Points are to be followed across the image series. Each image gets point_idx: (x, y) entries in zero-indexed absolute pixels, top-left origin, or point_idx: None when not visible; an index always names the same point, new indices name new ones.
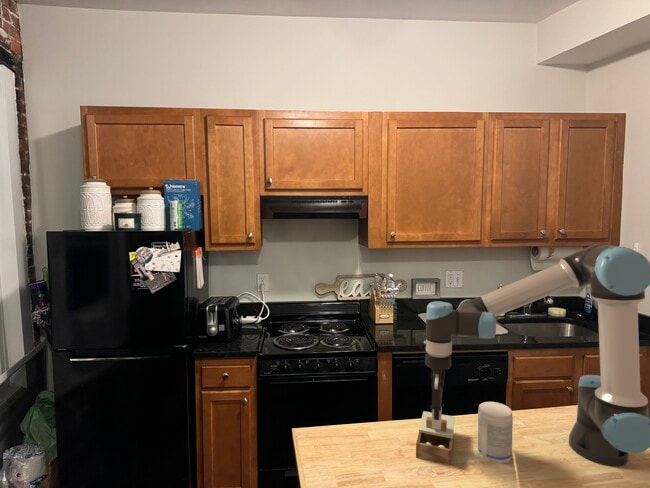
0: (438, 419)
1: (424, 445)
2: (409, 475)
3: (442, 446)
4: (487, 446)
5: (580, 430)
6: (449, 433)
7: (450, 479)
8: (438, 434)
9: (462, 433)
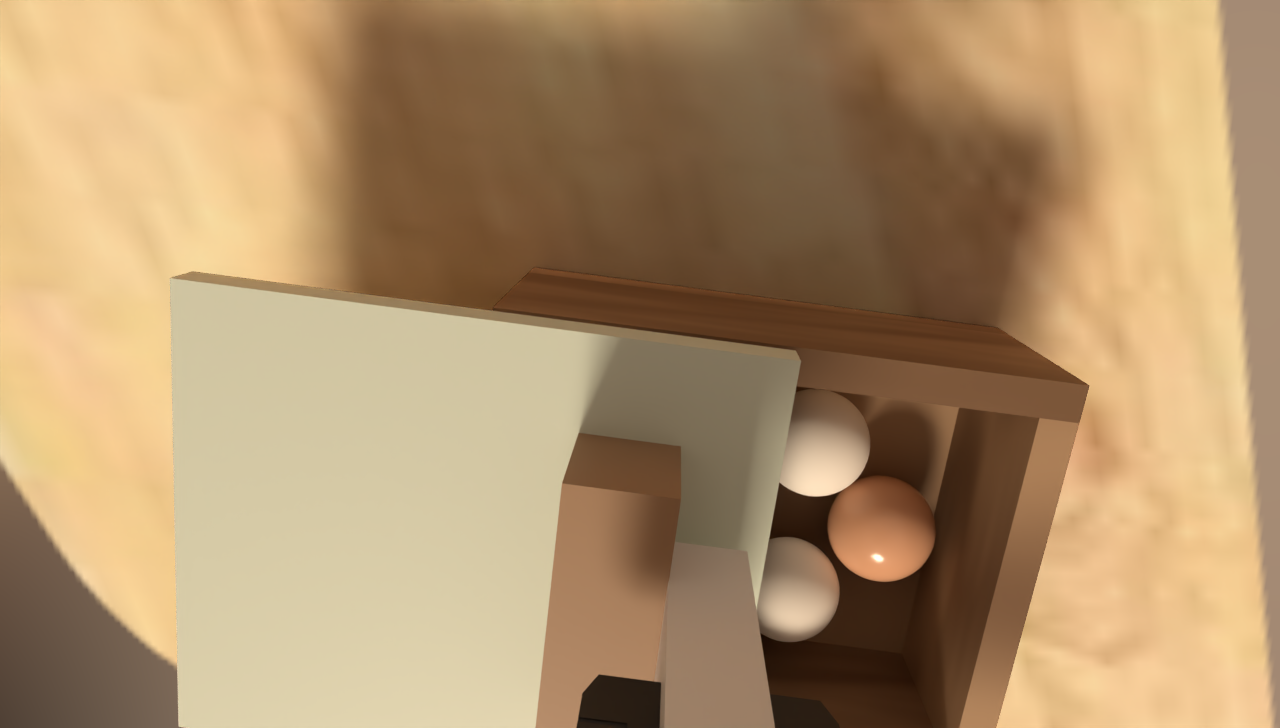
0: (831, 719)
1: (998, 707)
2: (1167, 720)
3: (835, 453)
4: None
5: None
6: (734, 403)
7: (1194, 348)
8: (764, 550)
9: (231, 123)
